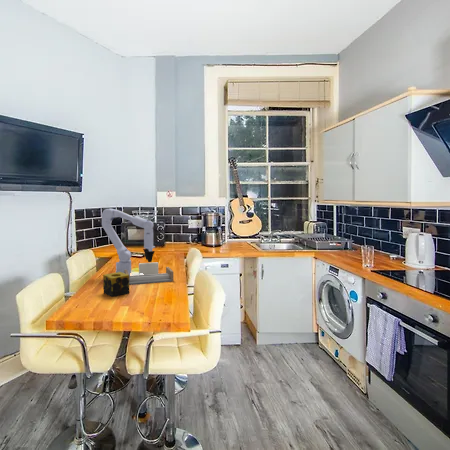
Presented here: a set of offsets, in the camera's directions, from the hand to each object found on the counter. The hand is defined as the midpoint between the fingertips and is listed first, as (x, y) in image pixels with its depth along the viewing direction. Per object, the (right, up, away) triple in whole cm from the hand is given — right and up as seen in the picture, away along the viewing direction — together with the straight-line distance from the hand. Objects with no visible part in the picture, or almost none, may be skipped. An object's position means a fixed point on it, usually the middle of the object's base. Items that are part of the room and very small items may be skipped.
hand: (148, 260), depth 215 cm
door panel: (0, -9, +1) cm, 10 cm away
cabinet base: (+3, -11, -12) cm, 16 cm away
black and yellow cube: (-8, -13, -39) cm, 42 cm away
